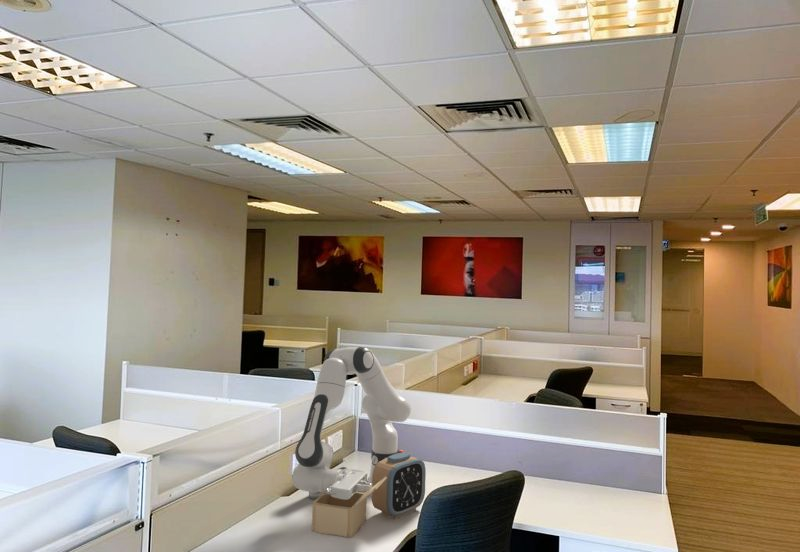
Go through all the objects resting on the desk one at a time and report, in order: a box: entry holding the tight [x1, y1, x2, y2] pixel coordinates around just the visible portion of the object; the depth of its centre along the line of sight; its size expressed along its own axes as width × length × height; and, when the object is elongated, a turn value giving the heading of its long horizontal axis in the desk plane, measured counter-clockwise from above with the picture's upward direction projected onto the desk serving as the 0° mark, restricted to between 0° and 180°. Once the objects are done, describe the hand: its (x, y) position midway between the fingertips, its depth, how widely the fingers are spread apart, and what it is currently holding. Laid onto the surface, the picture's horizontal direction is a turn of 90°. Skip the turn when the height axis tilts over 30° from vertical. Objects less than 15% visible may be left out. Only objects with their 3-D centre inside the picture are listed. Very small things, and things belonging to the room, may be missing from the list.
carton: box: [311, 491, 368, 539], centre depth 206 cm, size 16×16×10 cm
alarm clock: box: [371, 451, 427, 520], centre depth 219 cm, size 21×10×22 cm, turn 137°
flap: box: [354, 477, 386, 506], centre depth 203 cm, size 1×12×10 cm
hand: (370, 487), depth 202 cm, fingers closed
